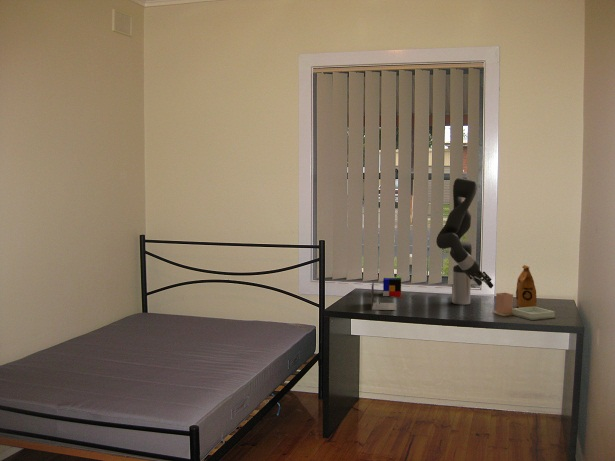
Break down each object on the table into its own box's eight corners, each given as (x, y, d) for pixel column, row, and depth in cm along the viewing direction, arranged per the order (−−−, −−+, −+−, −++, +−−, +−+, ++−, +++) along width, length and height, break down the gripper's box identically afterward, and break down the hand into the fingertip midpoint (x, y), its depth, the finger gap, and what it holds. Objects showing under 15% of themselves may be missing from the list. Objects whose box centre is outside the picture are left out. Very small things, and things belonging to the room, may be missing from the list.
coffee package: (516, 310, 324) (517, 267, 323) (515, 305, 336) (516, 264, 335) (537, 311, 322) (538, 268, 320) (535, 306, 334) (536, 265, 332)
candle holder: (492, 312, 318) (492, 303, 318) (505, 311, 322) (505, 301, 321) (503, 316, 311) (503, 305, 311) (516, 314, 314) (516, 304, 314)
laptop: (396, 311, 325) (396, 286, 324) (371, 310, 327) (371, 285, 326) (396, 304, 343) (396, 280, 342) (372, 304, 344) (372, 280, 343)
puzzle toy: (383, 296, 364) (383, 279, 364) (384, 293, 374) (384, 276, 373) (400, 297, 363) (400, 279, 362) (401, 294, 373) (401, 277, 372)
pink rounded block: (496, 311, 318) (496, 293, 317) (507, 310, 320) (507, 292, 320) (503, 313, 313) (503, 295, 312) (515, 312, 315) (515, 294, 315)
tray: (511, 314, 314) (511, 308, 314) (533, 312, 320) (534, 306, 319) (531, 320, 301) (531, 314, 301) (554, 317, 307) (554, 311, 307)
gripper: (481, 259, 300) (500, 282, 305) (462, 256, 313) (481, 277, 318) (471, 271, 298) (491, 293, 303) (453, 267, 311) (472, 289, 317)
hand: (486, 285), depth 311 cm, fingers open, 8 cm apart
